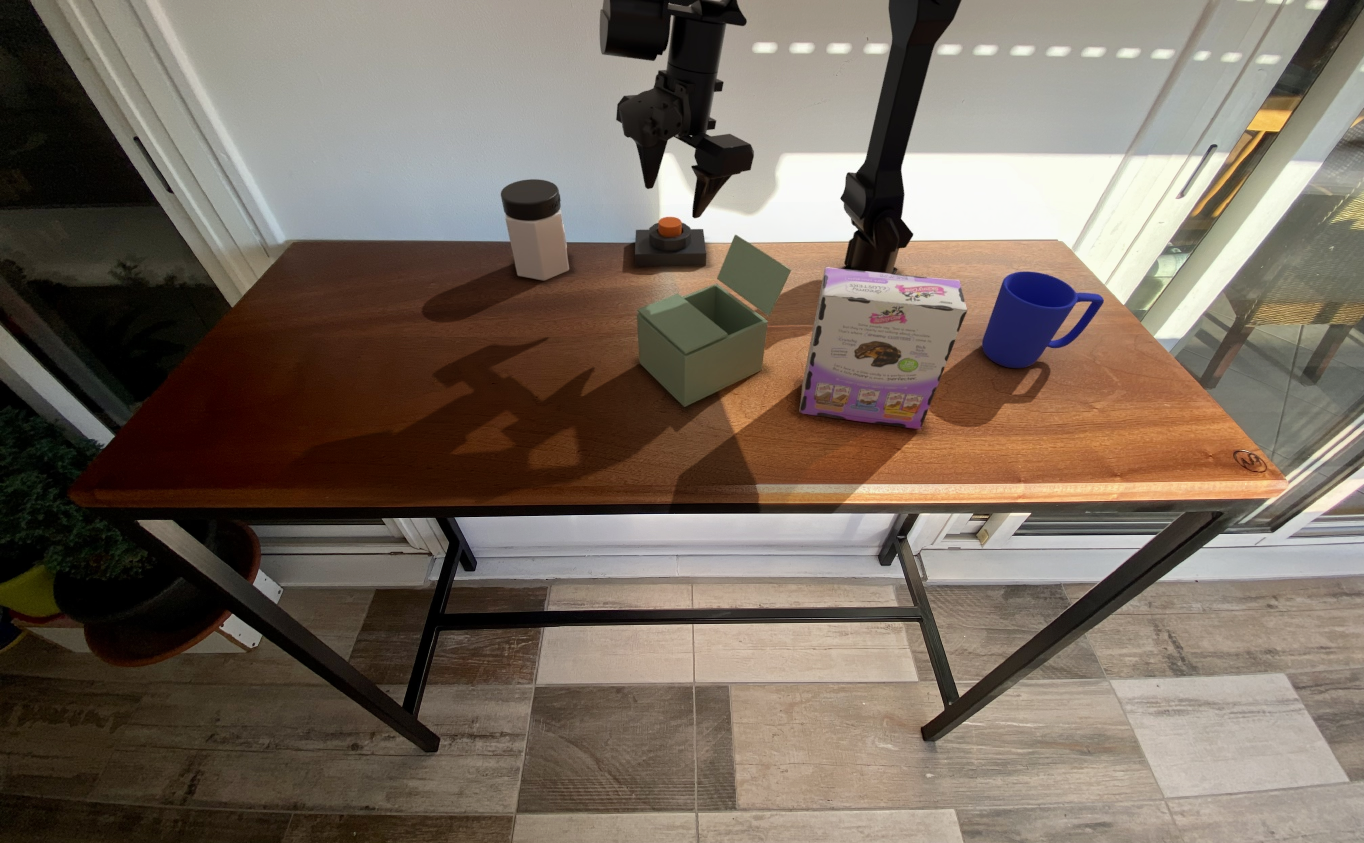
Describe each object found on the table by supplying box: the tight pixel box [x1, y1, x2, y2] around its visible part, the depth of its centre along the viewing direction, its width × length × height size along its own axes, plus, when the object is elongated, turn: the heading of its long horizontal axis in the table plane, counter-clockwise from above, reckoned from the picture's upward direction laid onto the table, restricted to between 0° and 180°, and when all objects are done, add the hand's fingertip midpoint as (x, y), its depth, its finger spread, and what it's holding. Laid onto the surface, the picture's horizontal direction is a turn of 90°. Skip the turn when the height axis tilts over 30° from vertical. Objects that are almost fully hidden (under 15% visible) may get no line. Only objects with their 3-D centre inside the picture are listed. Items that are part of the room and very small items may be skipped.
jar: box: [500, 178, 570, 282], centre depth 88 cm, size 9×8×12 cm
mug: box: [981, 270, 1105, 369], centre depth 74 cm, size 8×12×10 cm
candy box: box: [799, 266, 968, 430], centre depth 65 cm, size 14×6×16 cm, turn 78°
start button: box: [657, 216, 683, 237], centre depth 92 cm, size 4×4×2 cm
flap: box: [716, 234, 792, 317], centre depth 71 cm, size 6×10×1 cm
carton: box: [636, 282, 769, 408], centre depth 73 cm, size 12×10×8 cm
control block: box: [634, 222, 707, 267], centre depth 94 cm, size 11×8×4 cm
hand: (671, 202), depth 77 cm, fingers open, 9 cm apart
